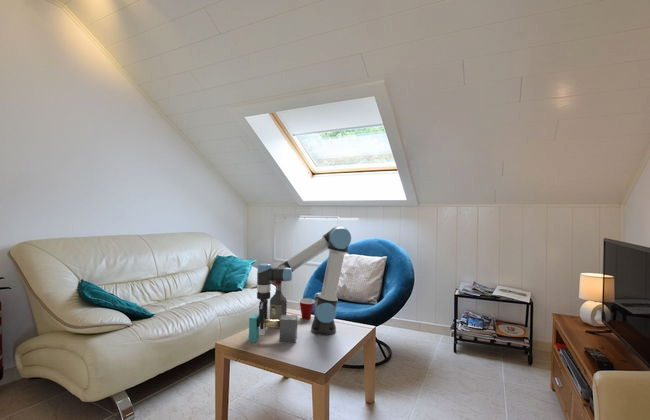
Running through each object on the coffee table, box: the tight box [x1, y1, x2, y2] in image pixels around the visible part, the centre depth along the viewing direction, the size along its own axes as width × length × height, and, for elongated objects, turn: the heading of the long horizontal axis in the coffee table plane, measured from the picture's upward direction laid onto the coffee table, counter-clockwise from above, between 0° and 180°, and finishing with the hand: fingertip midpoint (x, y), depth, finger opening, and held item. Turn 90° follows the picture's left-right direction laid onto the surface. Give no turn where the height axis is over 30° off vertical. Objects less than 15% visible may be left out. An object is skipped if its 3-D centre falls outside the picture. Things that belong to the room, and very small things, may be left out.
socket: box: [248, 313, 260, 343], centre depth 194 cm, size 4×8×13 cm, turn 179°
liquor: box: [269, 281, 288, 329], centre depth 217 cm, size 9×9×30 cm
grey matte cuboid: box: [278, 314, 298, 344], centre depth 194 cm, size 9×8×13 cm
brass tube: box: [257, 319, 280, 329], centre depth 194 cm, size 18×5×5 cm, turn 89°
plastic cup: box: [298, 298, 315, 320], centre depth 234 cm, size 11×11×12 cm
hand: (263, 332), depth 194 cm, fingers closed on brass tube, 5 cm apart
